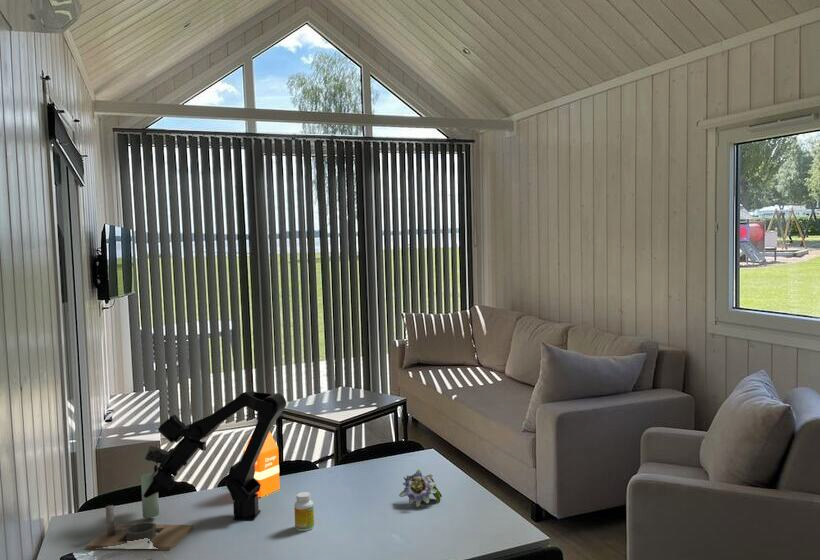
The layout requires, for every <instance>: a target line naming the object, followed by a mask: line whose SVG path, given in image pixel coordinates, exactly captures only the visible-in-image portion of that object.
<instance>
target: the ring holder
mask: <svg viewBox="0 0 820 560" xmlns="http://www.w3.org/2000/svg"><path fill="white" fill-rule="evenodd" d="M114 508H115V507H114V505H113V504H111V505H107V506H105V516H106V517H105V519H106V530H105V531H103V532H102V533H101V534H100V535H98V536H97V537H95V538H94V539H93V540H92V541H90V542H89V543H87V544H86V546H85V549H86V550H97V549H96V548H103V547H108V546H116V545H121V544H124V543H127V541H134V540H139V539H144V538H148V539H150V541H151V542H152V543H153V546H154V547H156V548H158V549H160V550H159V551H172V549H173V548H174V547H175V546H176V545H177V544H178V543H180V542H181V540H183V539H184V537H186V536H187V535H188V534H189V533H190V532H191V531H192V530H193V529H194V525H193V524H156V523H155V522H152V521H150V522H149V521H144V522H138V523H133V524H132V523H131V524H130V523H129V524H128V523H127V524H126V523H119V524H117V523H115V510H114ZM157 532H158V533H157ZM125 540H126V541H125Z"/></svg>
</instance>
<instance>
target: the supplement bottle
mask: <svg viewBox="0 0 820 560" xmlns="http://www.w3.org/2000/svg"><path fill="white" fill-rule="evenodd" d="M295 496H296V498H295V499H296V502H294V505H293V506H294V508H293V509H294V527H295V530H296V531H298V532H307V531H311V530H313V528H314V527H315V519H314V518H315V517H314V516H315V515H314V514H315V511H314V510H315V509H314V502H313V500H312V499H311V493H310V492H307V491H303V492H299V493H296V495H295Z"/></svg>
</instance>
